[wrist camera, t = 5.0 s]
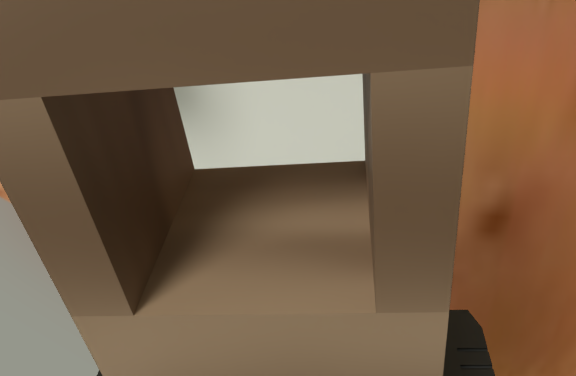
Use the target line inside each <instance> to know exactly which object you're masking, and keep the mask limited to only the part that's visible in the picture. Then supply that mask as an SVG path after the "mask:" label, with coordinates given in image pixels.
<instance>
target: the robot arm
mask: <svg viewBox="0 0 576 376" xmlns="http://www.w3.org/2000/svg"><path fill="white" fill-rule="evenodd" d="M97 376H102V374H101V372H100V370H99V372H98V375H97ZM443 376H495V374H494V370H493V369H492V363H491V359H490V356H489V352H488V351H487V345H486V341H485V338H484V334H483V330H482V327H481V326H480V325H479V324H478V322H477V321H476V320H475V319H474V317H473V316H472V315H471V314H470V312H469V311H468V310H449V318H448V329H447V339H446V349H445V359H444V370H443Z"/></svg>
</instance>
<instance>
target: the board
mask: <svg viewBox="0 0 576 376" xmlns="http://www.w3.org/2000/svg"><path fill="white" fill-rule="evenodd" d="M173 88H174V92H175V95H176V99H177V103H178V107H179V111H180V115H181V119H182V122H183V126H184V130H185V134H186V138H187V142H188V146H189V149H190V153H191V157H192V161H193V165H194V169H208V168H228V167H248V166H267V165H287V164H307V163H327V162H347V161H365V140H364V109H363V78H362V74H352V75H338V76H325V77H311V78H297V79H283V80H270V81H256V82H242V83H228V84H214V85H201V86H187V87H173Z"/></svg>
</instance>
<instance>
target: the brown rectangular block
mask: <svg viewBox="0 0 576 376" xmlns="http://www.w3.org/2000/svg"><path fill="white" fill-rule="evenodd" d="M479 2H480V0H0V182H1V184H2V186H3V188H4V190H5V192H6V193H7V195H8V197H9V199H10V201H11V203H12V205H13V207H14V209H15V210H16V212H17V214H18V216H19V218H20V220H21V222H22V224H23V225H24V228H25V229H26V231H27V233H28V235H29V237H30V239H31V241H32V242H33V244H34V247H35V248H36V250H37V252H38V254H39V256H40V258H41V260H42V262H43V264H44V265H45V267H46V269H47V271H48V273H49V275H50V277H51V279H52V281H53V283H54V284H55V286H56V288H57V290H58V292H59V294H60V296H61V298H62V300H63V302H64V304H65V305H66V307H67V309H68V311H69V313H70V315H71V317H72V319H73V320H74V322H75V324H76V326H77V328H78V330H79V332H80V334H81V336H82V337H83V340H84V341H85V343H86V345H87V347H88V349H89V351H90V353H91V354H92V357H93V359H94V360H95V362H96V364H97V366H98V368H99V370H100V372H101V374H102V376H443V370H444V359H445V349H446V339H447V329H448V318H449V308H450V298H451V288H452V278H453V267H454V257H455V247H456V237H457V226H458V216H459V206H460V196H461V186H462V175H463V165H464V155H465V145H466V134H467V124H468V114H469V104H470V94H471V83H472V73H473V63H474V53H475V42H476V32H477V22H478V12H479ZM352 74H362V78H363V109H364V140H365V161H347V162H327V163H307V164H287V165H267V166H248V167H228V168H208V169H194V165H193V161H192V157H191V153H190V149H189V146H188V142H187V138H186V134H185V130H184V126H183V122H182V119H181V115H180V111H179V107H178V103H177V99H176V95H175V92H174V88H173V87H187V86H201V85H214V84H228V83H242V82H256V81H270V80H283V79H297V78H311V77H325V76H338V75H352Z"/></svg>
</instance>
